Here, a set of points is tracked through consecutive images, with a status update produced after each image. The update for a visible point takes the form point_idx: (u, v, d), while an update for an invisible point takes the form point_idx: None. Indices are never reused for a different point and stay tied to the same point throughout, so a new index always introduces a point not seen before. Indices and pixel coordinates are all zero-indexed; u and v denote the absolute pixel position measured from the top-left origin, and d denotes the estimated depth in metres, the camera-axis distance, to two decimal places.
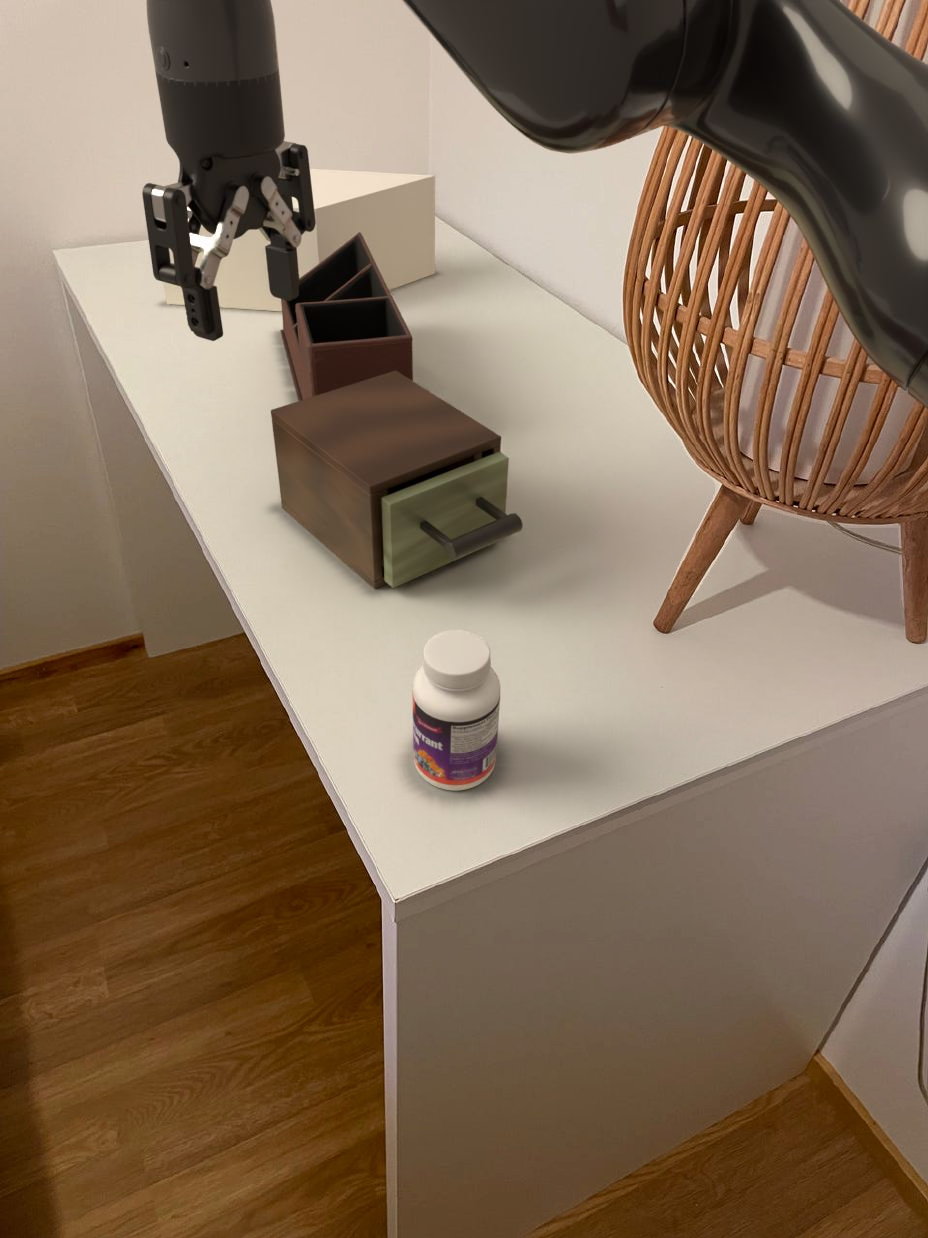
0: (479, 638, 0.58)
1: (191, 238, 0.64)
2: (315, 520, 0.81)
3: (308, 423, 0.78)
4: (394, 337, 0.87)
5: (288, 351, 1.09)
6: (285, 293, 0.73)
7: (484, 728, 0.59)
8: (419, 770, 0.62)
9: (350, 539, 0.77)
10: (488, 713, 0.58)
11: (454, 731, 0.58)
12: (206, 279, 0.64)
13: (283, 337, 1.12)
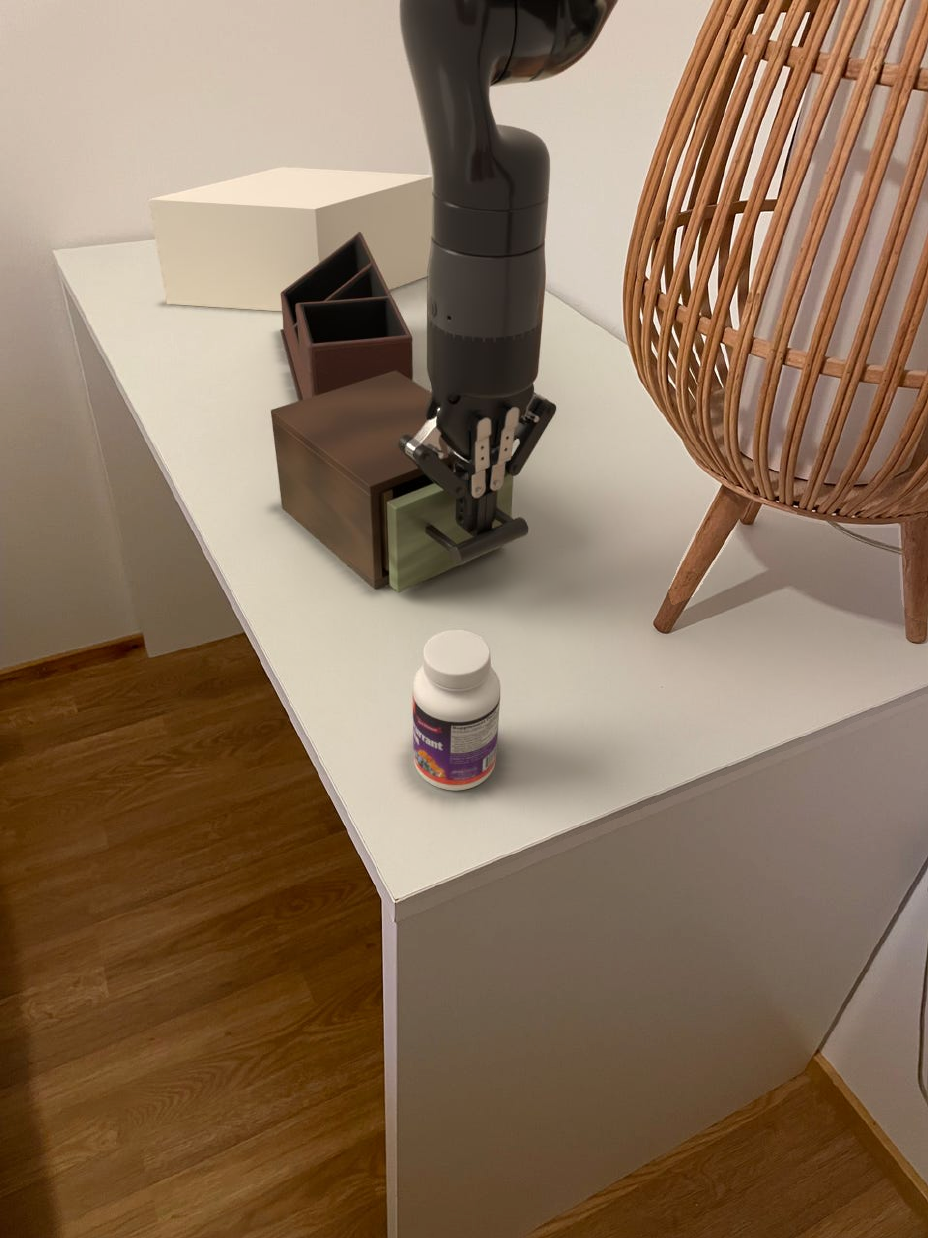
0: (480, 638, 0.58)
1: (456, 457, 0.69)
2: (315, 520, 0.81)
3: (308, 423, 0.78)
4: (394, 337, 0.87)
5: (288, 351, 1.09)
6: None
7: (484, 728, 0.59)
8: (419, 770, 0.62)
9: (350, 539, 0.77)
10: (488, 713, 0.58)
11: (454, 731, 0.58)
12: (477, 493, 0.70)
13: (283, 337, 1.12)
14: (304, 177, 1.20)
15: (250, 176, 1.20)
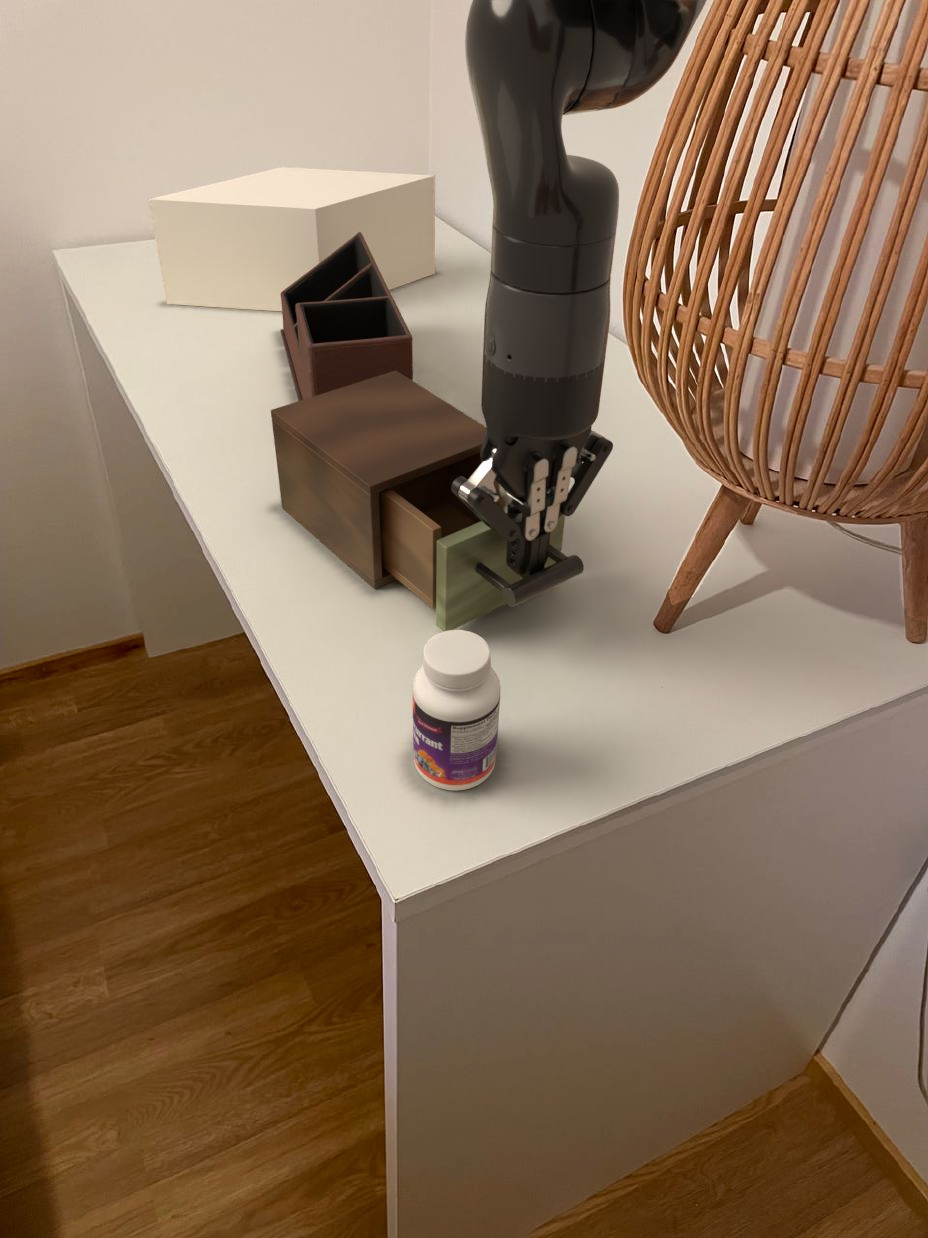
0: (480, 638, 0.58)
1: (509, 498, 0.66)
2: (315, 520, 0.81)
3: (308, 423, 0.78)
4: (394, 337, 0.87)
5: (288, 351, 1.09)
6: None
7: (484, 728, 0.59)
8: (419, 770, 0.62)
9: (350, 539, 0.77)
10: (488, 713, 0.58)
11: (454, 731, 0.58)
12: (530, 535, 0.67)
13: (283, 337, 1.12)
14: (304, 177, 1.20)
15: (250, 176, 1.20)
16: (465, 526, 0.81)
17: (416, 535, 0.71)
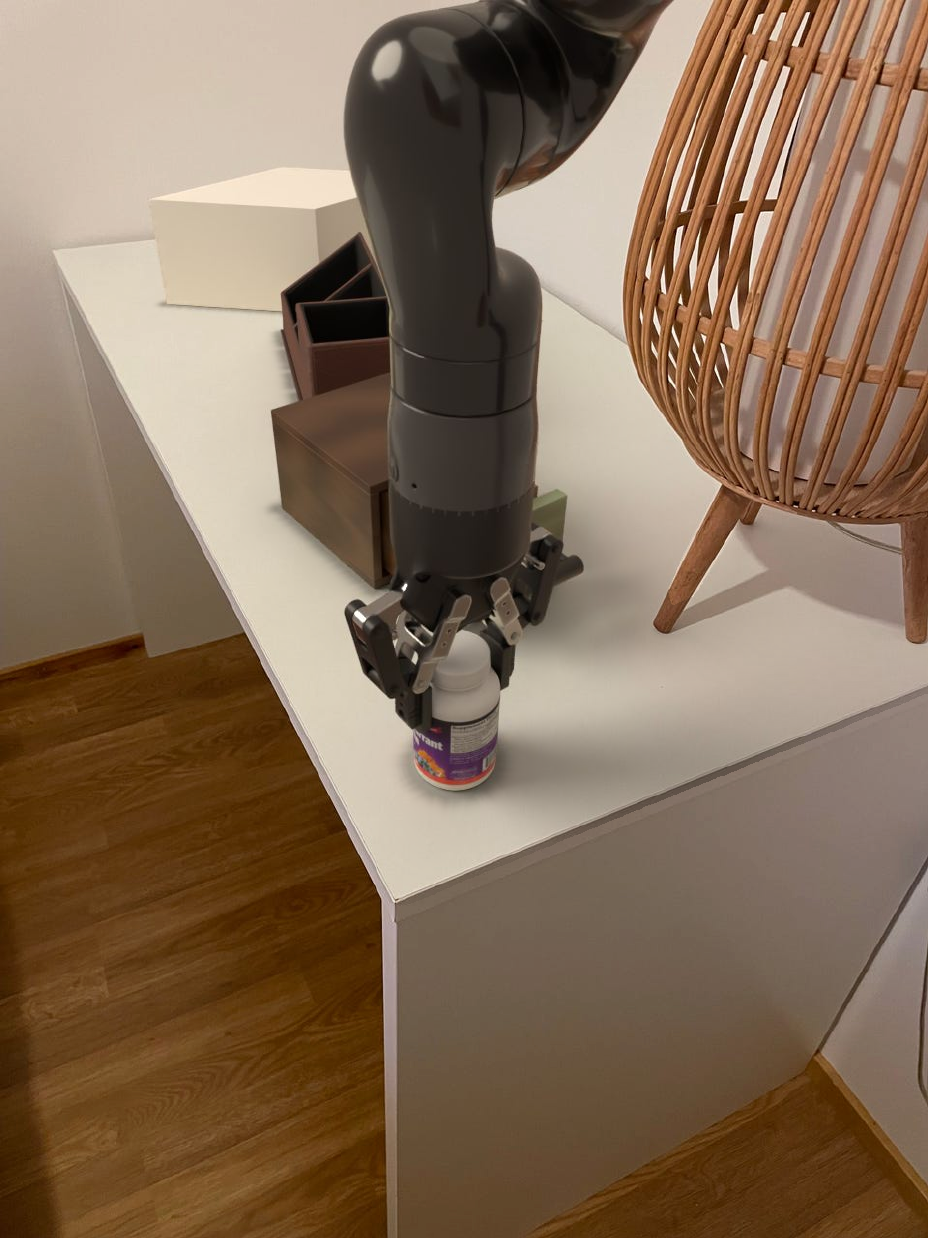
0: (479, 638, 0.58)
1: (407, 636, 0.55)
2: (315, 520, 0.81)
3: (308, 423, 0.78)
4: None
5: (288, 351, 1.09)
6: None
7: (484, 728, 0.59)
8: (419, 770, 0.62)
9: (350, 539, 0.77)
10: (488, 713, 0.58)
11: (454, 731, 0.58)
12: (419, 687, 0.55)
13: (283, 337, 1.12)
14: (304, 177, 1.20)
15: (250, 176, 1.20)
16: None
17: None
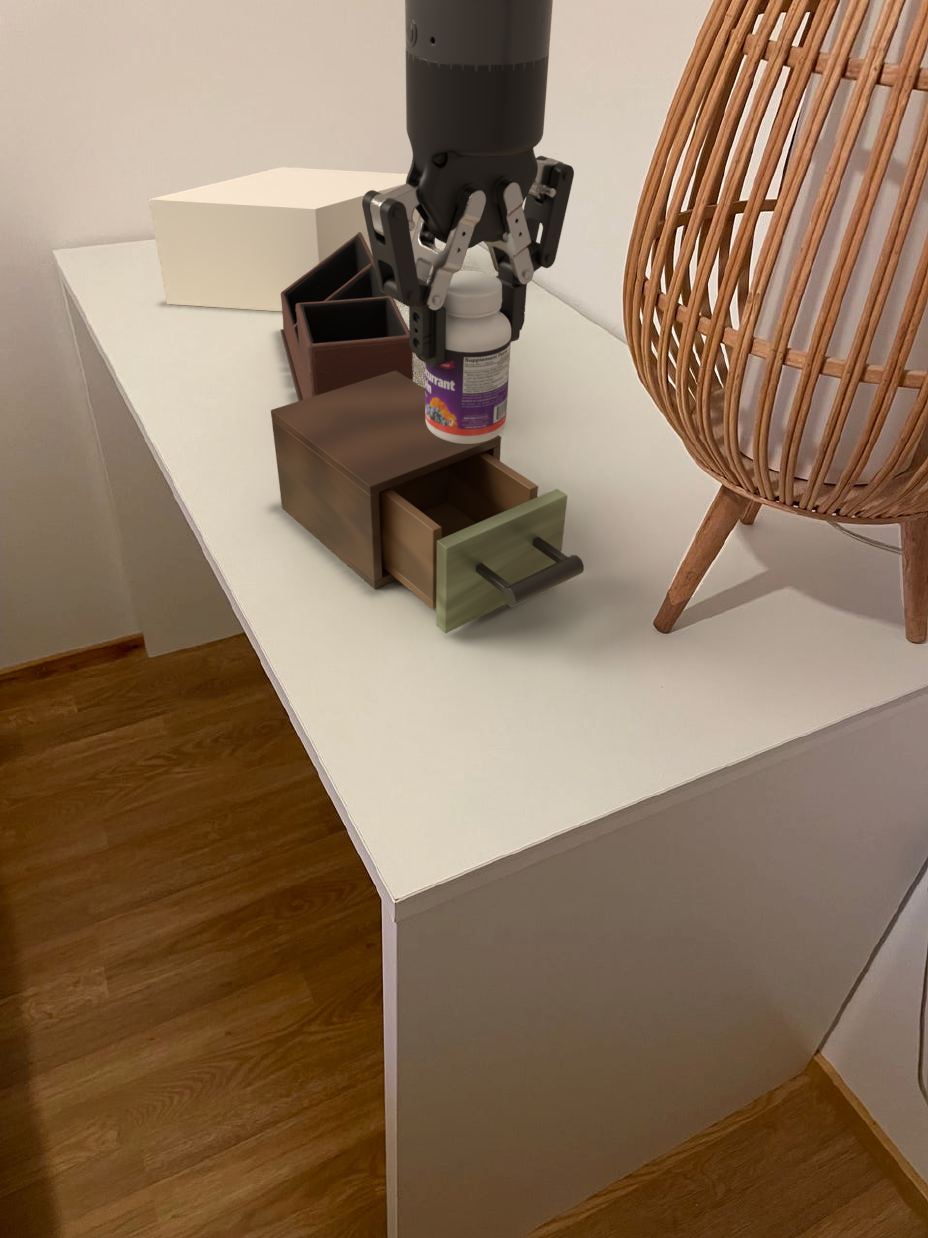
0: (491, 275, 0.60)
1: (422, 250, 0.56)
2: (315, 520, 0.81)
3: (308, 423, 0.78)
4: (394, 337, 0.87)
5: (288, 351, 1.09)
6: None
7: (495, 365, 0.60)
8: (431, 426, 0.64)
9: (350, 539, 0.77)
10: (500, 347, 0.59)
11: (466, 364, 0.59)
12: (434, 300, 0.56)
13: (283, 337, 1.12)
14: (304, 177, 1.20)
15: (250, 176, 1.20)
16: (465, 526, 0.81)
17: (416, 535, 0.71)
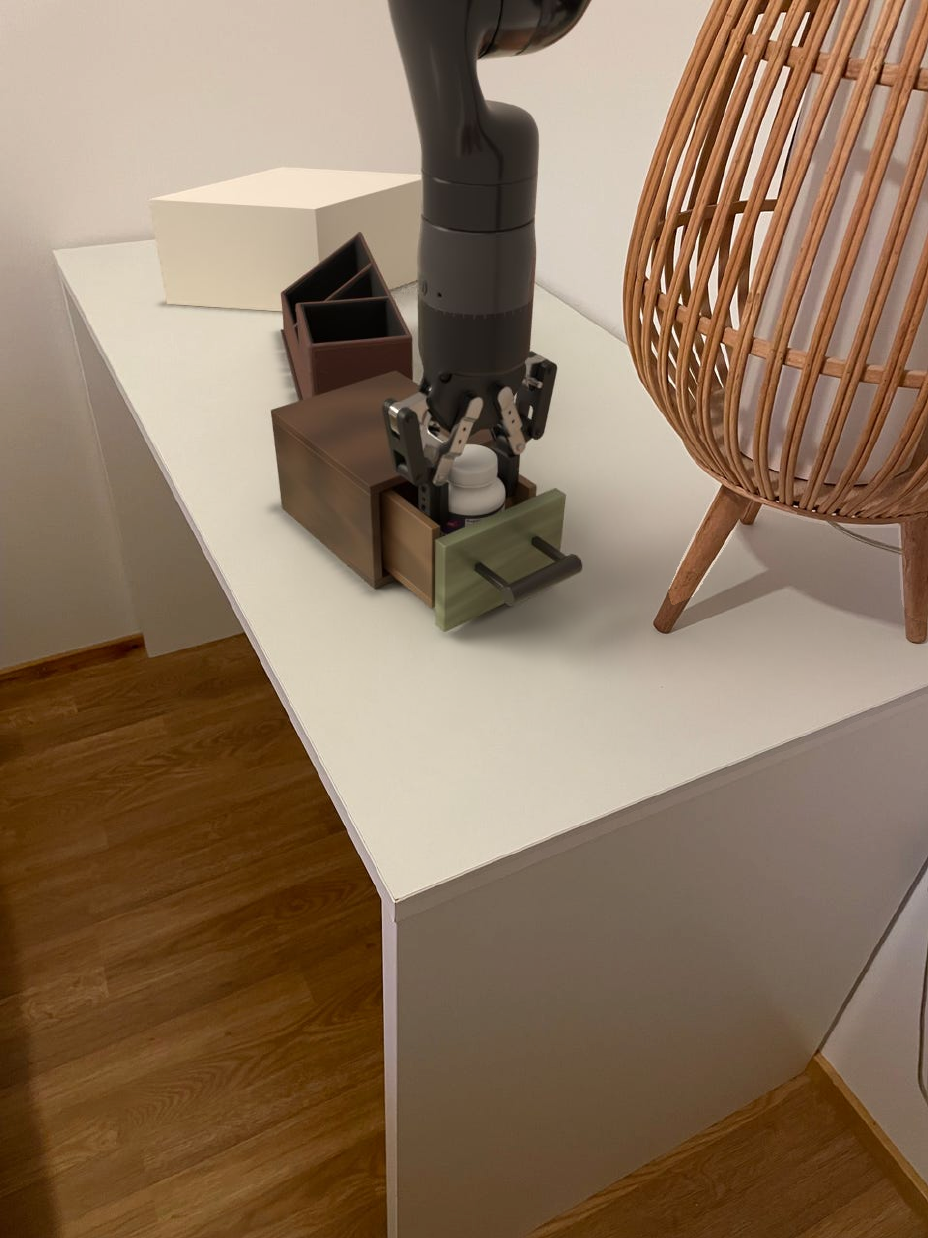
0: (488, 449, 0.72)
1: (429, 438, 0.68)
2: (315, 520, 0.81)
3: (308, 423, 0.78)
4: (394, 337, 0.87)
5: (288, 351, 1.09)
6: None
7: None
8: None
9: (350, 539, 0.77)
10: (495, 510, 0.71)
11: (468, 524, 0.71)
12: (438, 479, 0.68)
13: (283, 337, 1.12)
14: (304, 177, 1.20)
15: (250, 176, 1.20)
16: None
17: (415, 534, 0.71)
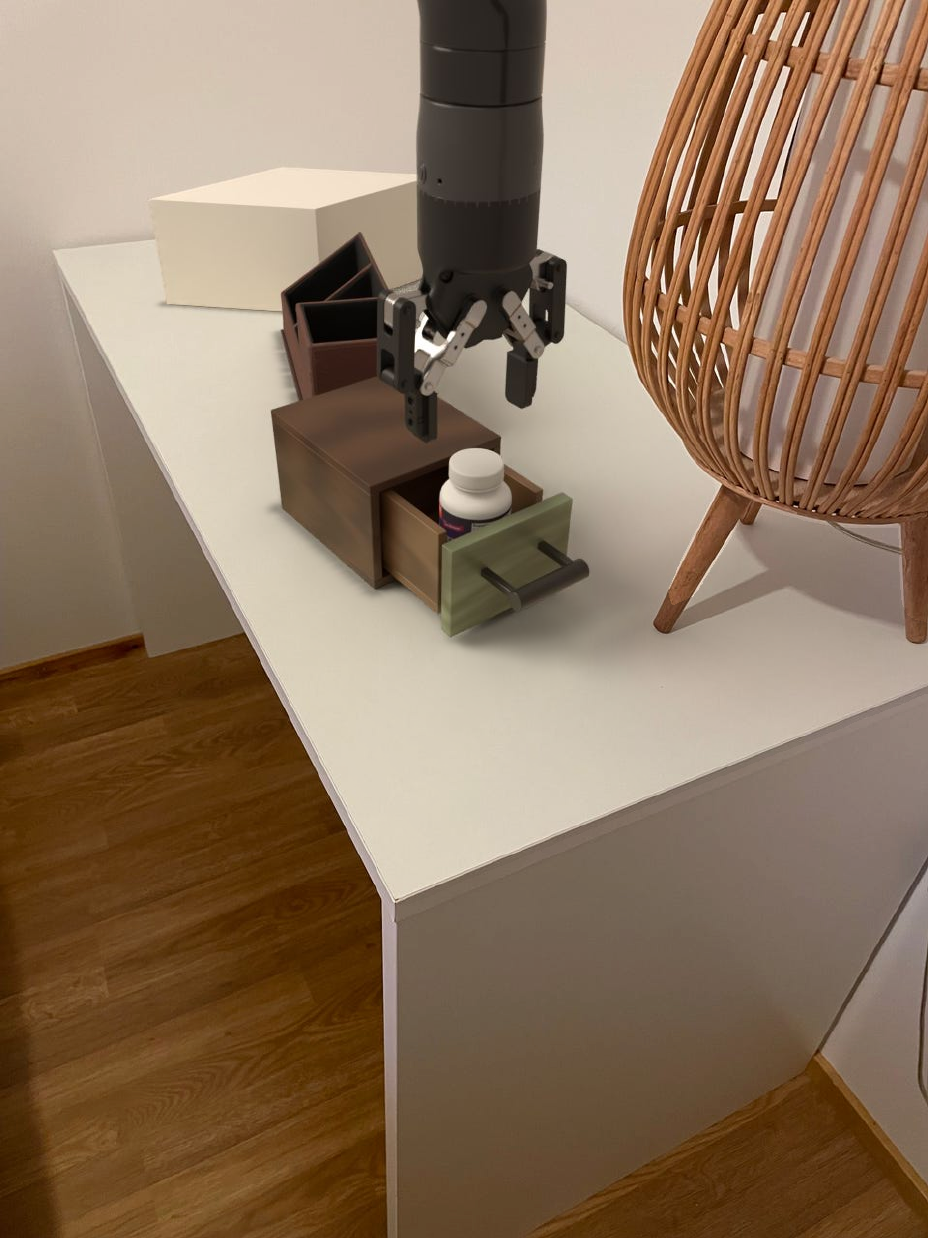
0: (495, 453, 0.71)
1: (422, 343, 0.63)
2: (315, 520, 0.81)
3: (308, 423, 0.78)
4: None
5: (288, 351, 1.09)
6: (518, 400, 0.70)
7: None
8: None
9: (350, 539, 0.77)
10: (502, 514, 0.71)
11: (474, 528, 0.71)
12: (426, 386, 0.63)
13: (283, 337, 1.12)
14: (304, 177, 1.20)
15: (250, 176, 1.20)
16: None
17: (421, 539, 0.71)
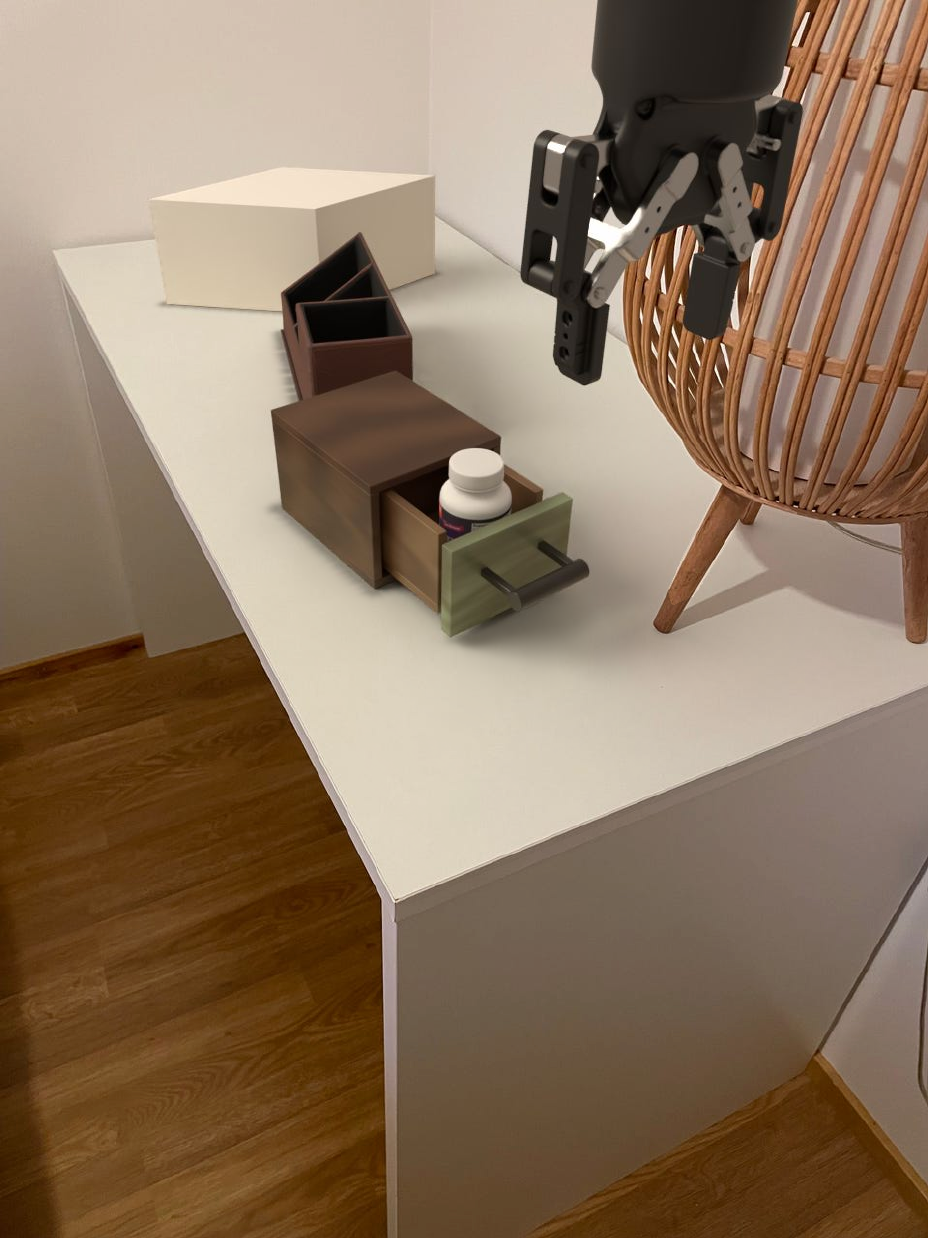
0: (495, 453, 0.71)
1: (590, 226, 0.41)
2: (315, 520, 0.81)
3: (308, 423, 0.78)
4: (394, 337, 0.87)
5: (288, 351, 1.09)
6: (705, 328, 0.48)
7: None
8: None
9: (350, 539, 0.77)
10: (502, 514, 0.71)
11: (474, 528, 0.71)
12: (597, 292, 0.40)
13: (283, 337, 1.12)
14: (304, 177, 1.20)
15: (250, 176, 1.20)
16: None
17: (421, 539, 0.71)
